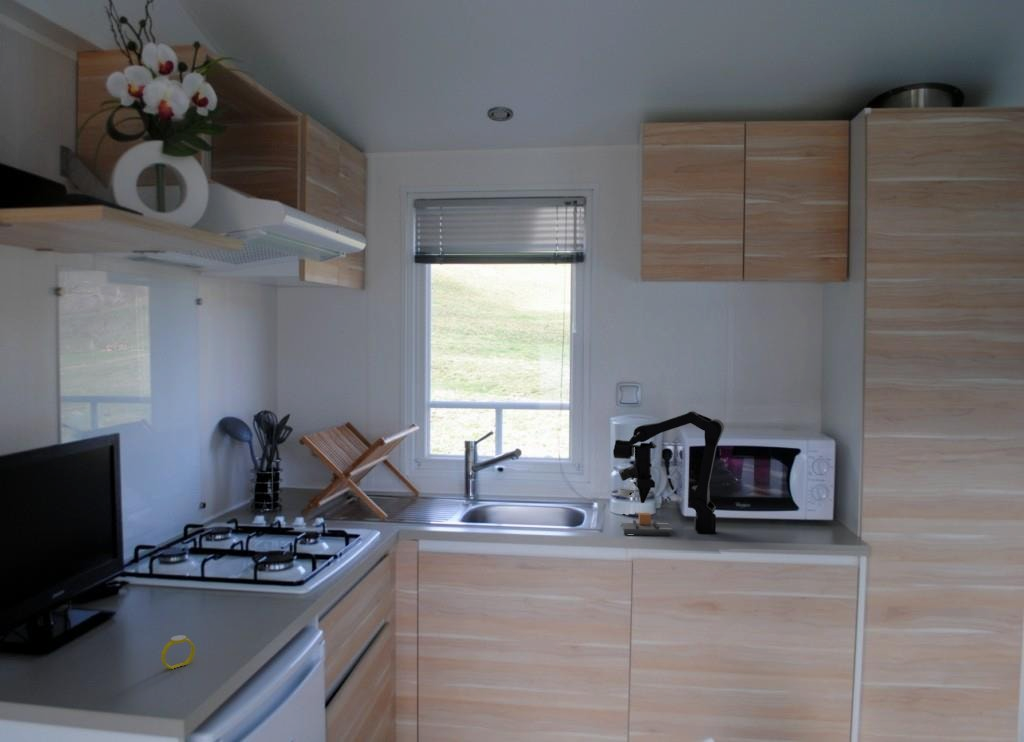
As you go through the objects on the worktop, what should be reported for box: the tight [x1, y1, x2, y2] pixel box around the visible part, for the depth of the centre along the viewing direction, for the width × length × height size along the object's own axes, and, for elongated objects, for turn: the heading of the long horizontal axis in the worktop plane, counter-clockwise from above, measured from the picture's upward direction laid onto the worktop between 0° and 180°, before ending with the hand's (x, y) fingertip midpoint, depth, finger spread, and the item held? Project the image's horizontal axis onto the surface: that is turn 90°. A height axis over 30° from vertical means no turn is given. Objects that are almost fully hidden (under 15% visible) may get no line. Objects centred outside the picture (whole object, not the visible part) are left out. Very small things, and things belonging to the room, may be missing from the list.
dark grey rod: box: [623, 532, 671, 537], centre depth 237 cm, size 16×1×1 cm, turn 87°
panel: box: [620, 519, 673, 536], centre depth 242 cm, size 16×8×3 cm, turn 87°
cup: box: [617, 488, 635, 497], centre depth 269 cm, size 8×8×10 cm
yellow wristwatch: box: [160, 634, 196, 670], centre depth 138 cm, size 6×3×6 cm, turn 133°
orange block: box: [638, 512, 652, 525], centre depth 245 cm, size 4×2×4 cm, turn 87°
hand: (642, 502), depth 251 cm, fingers closed
